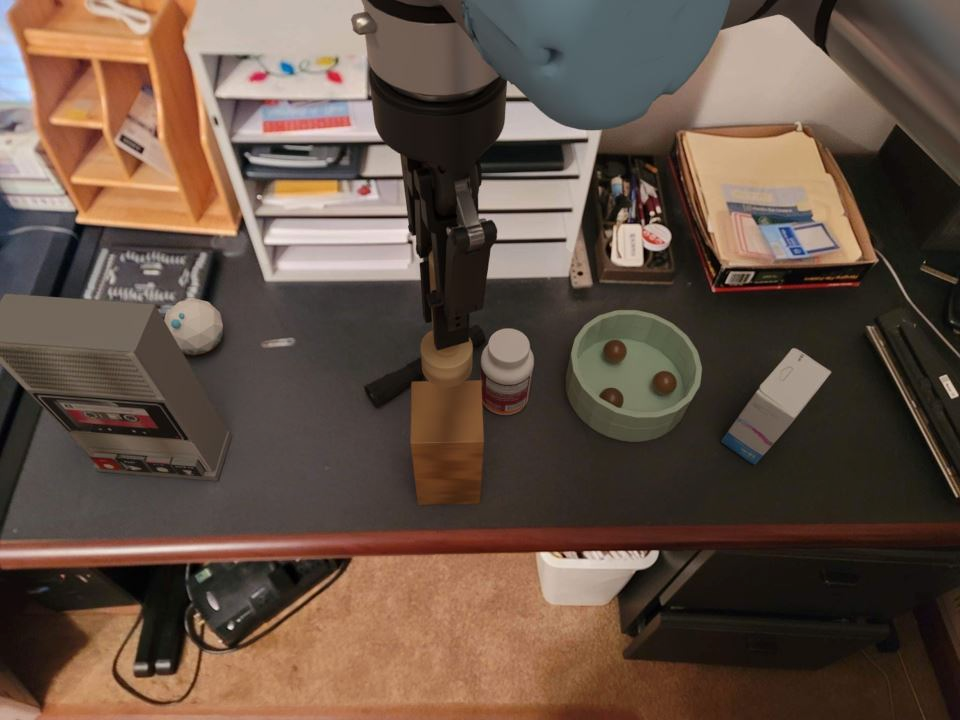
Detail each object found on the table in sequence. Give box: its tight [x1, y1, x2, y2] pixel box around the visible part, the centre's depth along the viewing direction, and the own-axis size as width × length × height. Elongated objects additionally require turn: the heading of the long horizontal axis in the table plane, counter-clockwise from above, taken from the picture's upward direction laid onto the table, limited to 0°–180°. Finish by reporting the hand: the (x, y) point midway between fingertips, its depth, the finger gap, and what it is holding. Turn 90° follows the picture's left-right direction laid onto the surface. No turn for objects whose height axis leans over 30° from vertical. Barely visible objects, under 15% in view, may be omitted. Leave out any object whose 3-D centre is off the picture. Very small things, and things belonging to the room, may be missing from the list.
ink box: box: [720, 347, 832, 466], centre depth 80 cm, size 9×5×12 cm, turn 137°
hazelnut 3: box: [652, 371, 677, 395], centre depth 86 cm, size 3×3×3 cm
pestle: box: [420, 250, 474, 387], centre depth 55 cm, size 4×4×14 cm
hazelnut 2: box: [599, 387, 624, 408], centre depth 84 cm, size 3×3×3 cm
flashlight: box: [363, 324, 487, 408], centre depth 87 cm, size 3×16×3 cm, turn 126°
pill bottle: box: [479, 327, 535, 416], centre depth 82 cm, size 6×6×11 cm
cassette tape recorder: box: [0, 293, 233, 482], centre depth 71 cm, size 14×6×25 cm, turn 86°
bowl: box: [564, 309, 703, 443], centre depth 85 cm, size 15×15×6 cm
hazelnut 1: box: [603, 340, 627, 363], centre depth 88 cm, size 3×3×3 cm
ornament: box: [163, 297, 224, 356], centre depth 87 cm, size 7×7×8 cm
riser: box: [409, 379, 485, 506], centre depth 74 cm, size 7×7×15 cm
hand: (445, 328), depth 57 cm, fingers closed on pestle, 2 cm apart
